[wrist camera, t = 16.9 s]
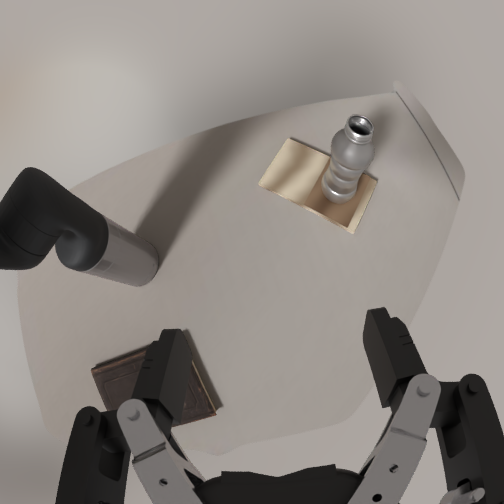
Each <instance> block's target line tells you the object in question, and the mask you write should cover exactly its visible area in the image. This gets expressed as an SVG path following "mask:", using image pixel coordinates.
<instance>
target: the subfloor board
mask: <svg viewBox="0 0 504 504" xmlns="http://www.w3.org/2000/svg"><path fill="white" fill-rule="evenodd" d="M330 160H331V157H329V156H327V155H325V154H323V153H320V152H318V151H316V150H314V149H312V148H309V147H307V146H305V145H303V144H300V143H298V142H296V141H293V140H291V139H289V138H288V139H287V140H286V142H285V143H284V145H283V146H282V148H281V149H280V151H279V152H278V154H277V155H276V157H275V158H274V160H273V161H272V163H271V164H270V166H269V167H268V169H267V170H266V172H265V174H264V175H263V177H262V178H261V180H260V181H259V186H261V187H263V188H265V189H267V190H269V191H271V192H273V193H276V194H278V195H280V196H282V197H284V198H286V199H288V200H290V201H292V202H294V203H296V204H298V205H300V206H301V207H303V208H305V209H307V210H309V211H311V212H313V213H315V214H317V215H319V216H321V217H323V218H325V219H326V220H328V221H330V222H332V223H334V224H336V225H338V226H339V227H341V228H343V229H345V230H347V231H348V232H350V233H352V234H353V233H354V232H355V230H356V228H357V226H358V224H359V221H360V219H361V217H362V215H363V213H364V211H365V208H366V206H367V204H368V202H369V199H370V197H371V195H372V193H373V190H374V188H375V186H376V183H377V181H376V180H374V179H372V178H371V177H369V176H368V175H366V174H364V173H362V174H361V176H360V178H359V180H358V183H357V190H356V193H355V195H354V197H353V198H352V199H351V200H349V201H348V202H346V203H343V204H337V203H334V202H332V201H330V200H328V199H327V198H326V197H325V195H324V193H323V191H322V183H321V181H322V178H323V175H324V174H325V172H326V171H327V169H328V167H329V165H330Z"/></svg>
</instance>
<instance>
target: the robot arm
mask: <svg viewBox="0 0 504 504" xmlns="http://www.w3.org/2000/svg"><path fill="white" fill-rule="evenodd" d="M54 244H55V248H56V253H57V256H58V258H59V260H60V261H61V263H62V264H63V265H64V266H66V267H68V268H70V269H73V270H76V271H80V272H83V273H87V274H90V275H94V276H98V277H101V278H105V279H109V280H113V281H116V282H120V283H124V284H128V285H132V286H142V285H145V284H147V283H148V282H150V281H151V280H152V278H153V277H154V276H155V274H156V272H157V269H158V262H159V260H158V254H157V251H156V250H155V248H154V247H153V246H152V245H151V244H150V243H148V242H147V241H145V240H143V239H142V238H140V237H138V236H137V235H135V234H133V233H132V232H130V231H128V230H127V229H125V228H123V227H122V226H120V225H118V224H117V223H115V222H114V221H112V220H110V219H108V218H107V217H105V216H104V215H102V214H100V213H99V212H97V211H96V210H94V209H93V208H91V207H90V206H89V205H88V204H86V203H85V202H83V201H82V200H81V199H79V198H78V197H76V196H75V195H73V194H72V193H71V192H69V191H68V190H67V189H65V188H64V187H63V186H62V185H60V184H59V183H58V182H56V181H55V180H54V179H53V178H51V177H50V176H49V175H47V174H46V173H45V172H43V171H41V170H39V169H36V168H32V167H28V168H25V169H24V170H23V171H22V172H21V173H20V174H19V175H18V177H17V178H16V179H15V181H14V182H13V184H12V185H11V187H10V188H9V190H8V191H7V193H6V194H5V196H4V197H3V199H2V201H1V202H0V269H5V270H26V269H31V268H33V267H35V266H37V265H38V264H39V263H41V262H42V260H43V259H44V258H45V257H46V255H47V254H48V253H49V251H50V250H51V248H52V247H53V246H54ZM363 344H364V348H365V351H366V354H367V357H368V360H369V364H370V367H371V370H372V373H373V377H374V380H375V383H376V387H377V390H378V394H379V397H380V401H381V405H382V408H386V407H389V406H390V407H391V411H392V414H391V416H390V418H389V420H388V422H387V424H386V426H385V428H384V430H383V432H382V434H381V436H380V438H379V440H378V442H377V444H376V446H375V447H374V449H373V451H372V452H371V454H370V456H369V457H368V459H367V460H366V462H365V463H364V465H363V467H362V468H361V470H360V472H359V473H355V472H353V471H349V470H345V469H336V466H335V464H332V465H327V466H320V467H312V468H306V469H303V470H300V471H297V472H294V473H291V474H287V475H284V476H281V477H274V476H268V475H263V474H258V473H253V472H229V471H222V474H221V476H219V477H215V478H212V479H210V480H207V481H206V480H205V478H204V477H203V476H202V475H201V473H200V472H199V471H198V470H197V469H196V467H195V466H194V465H193V464H192V463H191V462H190V460H189V459H188V457H187V456H186V454H185V453H184V451H183V449H182V448H181V446H180V445H179V443H178V442H177V440H176V438H175V437H174V435H173V433H172V432H171V427H172V424H180V425H181V419H182V413H183V407H184V402H185V396H186V391H187V386H188V380H189V375H190V370H191V365H192V353H191V350H190V348H189V346H188V343H187V341H186V339H185V337H184V335H183V333H182V331H181V329H164V330H162V332H161V335H160V338H159V341H153V342H152V344H151V345H150V346H149V347H148V349H147V350H146V353H145V356H144V359H143V360H144V361H143V362H142V365H141V369H140V371H139V374H138V378H137V381H136V384H135V387H134V390H133V394H132V396H131V399H130V400H127V401H125V402H124V403H122V404H121V406H120V407H119V409H117V410H111V411H105V412H100V411H99V410H97V409H96V408H95V407H92V406H87V407H84V408H82V409H81V410H80V411H79V412H78V413H77V415H76V418H75V421H74V424H73V428H72V431H71V435H70V439H69V442H68V446H67V450H66V454H65V458H64V462H63V467H62V472H61V477H60V481H59V486H58V491H57V497H56V503H55V504H124V497H125V489H126V481H127V474H128V467H129V461H130V454H131V452H132V454H133V456H134V460H132V464H133V467H134V469H135V471H136V473H137V475H138V477H139V479H140V481H141V483H142V485H143V487H144V488H145V490H146V492H147V494H148V496H149V497H150V499H151V501H152V502H153V504H399V501H400V499H401V497H402V495H403V494H404V492H405V490H406V488H407V486H408V484H409V482H410V480H411V478H412V476H413V474H414V472H415V470H416V468H417V466H418V463H419V461H420V459H421V457H422V454H423V452H424V449H425V447H426V443H427V440H426V434H427V432H428V429H429V428H435V429H436V432H437V437H438V441H439V446H440V450H441V455H442V460H443V465H444V471H445V477H446V483H447V490H448V492H447V493H446V494H445V495H444V496H443V498H442V499H441V501H440V503H439V504H504V435H503V431H502V428H501V425H500V422H499V419H498V416H497V413H496V410H495V407H494V404H493V401H492V399H491V396H490V393H489V392H488V389H487V386H486V383H485V381H484V380H483V379H482V378H481V377H480V376H479V375H476V374H468V375H466V376H464V377H463V378H462V379H461V381H460V382H440V381H438V380H437V379H436V378H435V377H434V376H432V375H429V374H428V373H427V371H426V369H425V367H424V364H423V362H422V360H421V358H420V355H419V353H418V351H417V349H416V347H415V344H413V340H412V338H411V336H410V334H409V331H408V329H407V327H406V325H405V324H404V323H403V322H402V321H401V320H400V319H399V318H397V317H394V318H390V316H389V314H388V311H387V310H386V308H385V307H382V308H376V309H371V310H368V311H367V314H366V320H365V325H364V331H363Z"/></svg>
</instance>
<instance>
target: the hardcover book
mask: <svg viewBox="0 0 504 504" xmlns="http://www.w3.org/2000/svg"><path fill="white" fill-rule="evenodd" d="M147 349H148V348H146V349H143V350H141V351H138V352H135V353H133V354H130V355H127V356H125V357H122V358H119V359H117V360H114V361H111V362H108V363H106V364H103V365H100V366H97V367H94V368H92V369H91V373H92V375H93V378H94V380H95V383H96V386H97V388H98V390H99V393H100V395H101V398H102V400H103V402H104V405H105V407H106V409H107V411H111V410H117V409H119V407H120V406H121V404H122V403H124V402H125V401H127V400H130V399H131V396H132V394H133V390H134V387H135V384H136V381H137V378H138V374H139V371H140V369H141V365H142V362H143V361H144V360H143V359H144V356H145V353H146V350H147ZM215 415H217V414H216V409H215V407H214V405H213V403H212V401H211V399H210V397H209V395H208V393H207V391H206V388H205V386H204V384H203V382H202V380H201V378H200V376H199V373H198V371H197V369H196V367H195V364H194V362H193V360H192V365H191V370H190V375H189V380H188V386H187V391H186V396H185V402H184V407H183V413H182V419H181V425H183V424H187V423H191V422H194V421H198V420H201V419H205V418H208V417H212V416H215ZM179 425H180V424H172V427H175V426H179Z"/></svg>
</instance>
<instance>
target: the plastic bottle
mask: <svg viewBox="0 0 504 504" xmlns="http://www.w3.org/2000/svg"><path fill="white" fill-rule="evenodd" d="M373 132H374V126H373V124H372V122H371V121H370V120H369V119H368V118H366V117H365V116H362V115H352V116H350V117H349V118H348V120H347V123H346V125H345V128H344V129H341V130H340V131H338V132H337V133H336V134H335V136H334V137H333V139H332V142H331V160H330V165H329V167H328V169H327V171H326V172H325V174H324V175H323V178H322V181H321V183H322V191H323V193H324V195H325V197H326V198H327V199H328V200H330V201H332V202H334V203H337V204H343V203H346V202H348V201H349V200H351V199H352V198H353V197H354V195H355V193H356V190H357V183H358V180H359V178H360V176H361V174H362V173H363V171H364V170H365V169H366V168H367V167H368V166H369V165H370V163H371V162H372V160H373V158H374V145H373V142H372V140H371V139H372V135H373Z"/></svg>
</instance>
